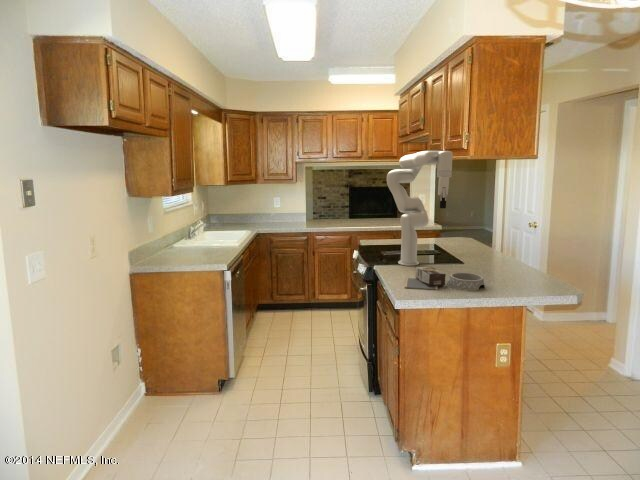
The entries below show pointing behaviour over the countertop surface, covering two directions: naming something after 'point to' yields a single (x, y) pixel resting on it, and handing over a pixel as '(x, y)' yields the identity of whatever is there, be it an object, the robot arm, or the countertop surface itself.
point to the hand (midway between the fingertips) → (442, 208)
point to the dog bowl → (465, 281)
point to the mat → (418, 284)
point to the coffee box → (430, 276)
